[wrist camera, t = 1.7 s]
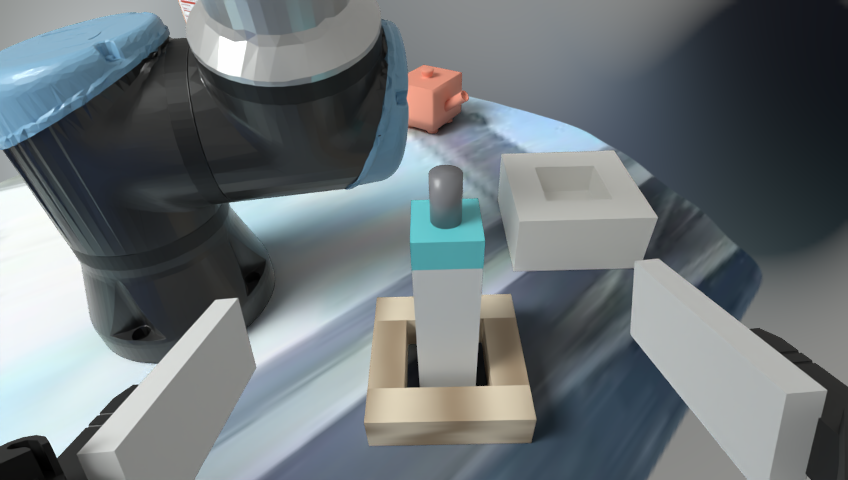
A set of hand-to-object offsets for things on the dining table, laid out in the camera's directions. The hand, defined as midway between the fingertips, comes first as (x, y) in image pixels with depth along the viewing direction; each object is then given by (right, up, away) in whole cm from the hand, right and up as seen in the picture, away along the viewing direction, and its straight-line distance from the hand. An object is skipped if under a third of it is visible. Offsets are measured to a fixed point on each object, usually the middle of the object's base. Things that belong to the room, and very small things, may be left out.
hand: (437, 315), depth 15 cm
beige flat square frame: (+1, -8, +20) cm, 22 cm away
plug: (+1, -8, +20) cm, 22 cm away
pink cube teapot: (+1, +20, +54) cm, 58 cm away
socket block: (+14, +3, +33) cm, 36 cm away
